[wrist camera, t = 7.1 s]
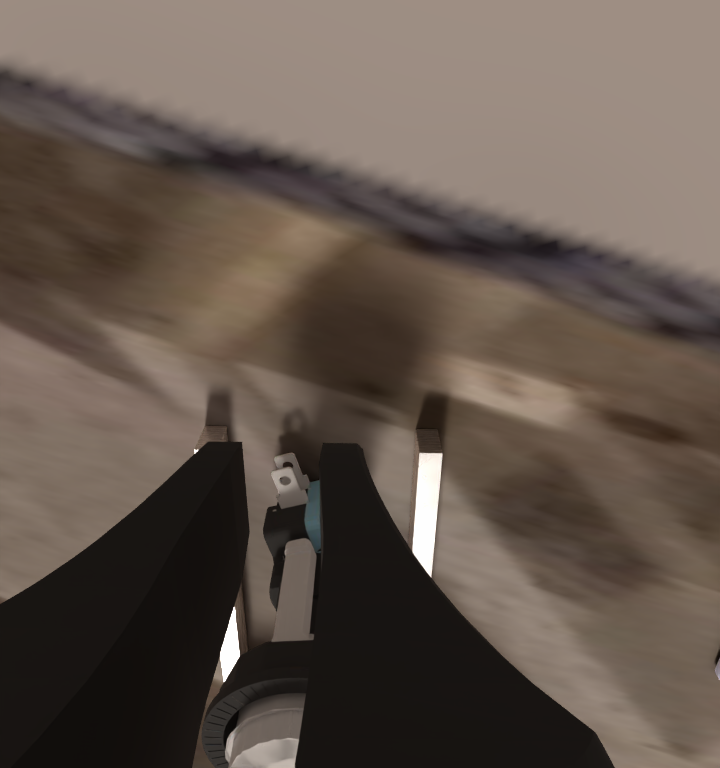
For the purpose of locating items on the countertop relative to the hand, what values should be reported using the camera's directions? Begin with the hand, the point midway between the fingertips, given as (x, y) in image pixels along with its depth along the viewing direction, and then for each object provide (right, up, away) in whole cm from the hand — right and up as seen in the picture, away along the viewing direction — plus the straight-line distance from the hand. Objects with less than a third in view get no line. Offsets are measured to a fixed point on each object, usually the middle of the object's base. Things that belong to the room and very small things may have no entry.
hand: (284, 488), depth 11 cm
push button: (-1, -3, +14) cm, 14 cm away
